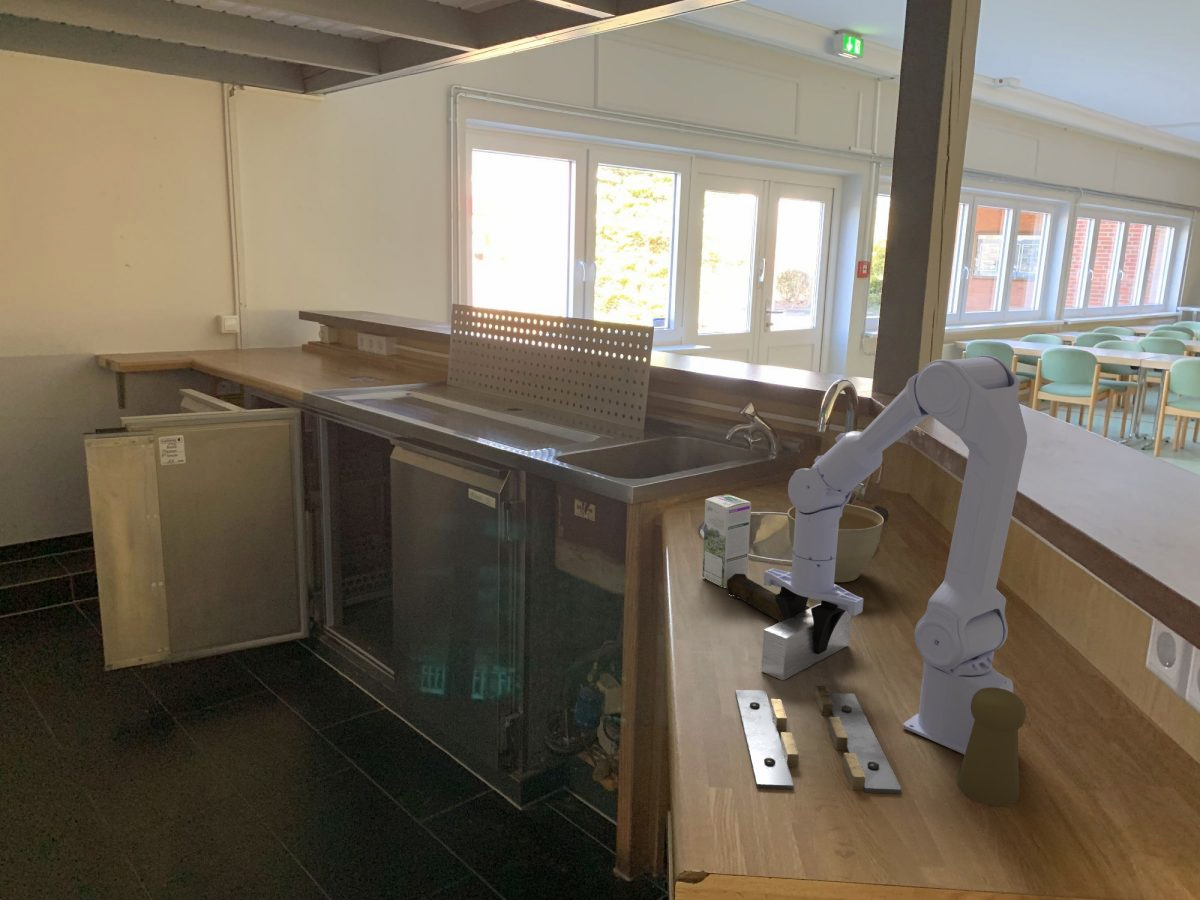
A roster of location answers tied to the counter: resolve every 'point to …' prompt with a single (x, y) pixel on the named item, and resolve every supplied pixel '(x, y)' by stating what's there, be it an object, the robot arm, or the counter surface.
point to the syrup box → (726, 538)
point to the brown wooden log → (754, 595)
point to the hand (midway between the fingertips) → (807, 646)
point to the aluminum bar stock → (799, 644)
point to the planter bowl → (851, 539)
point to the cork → (993, 748)
